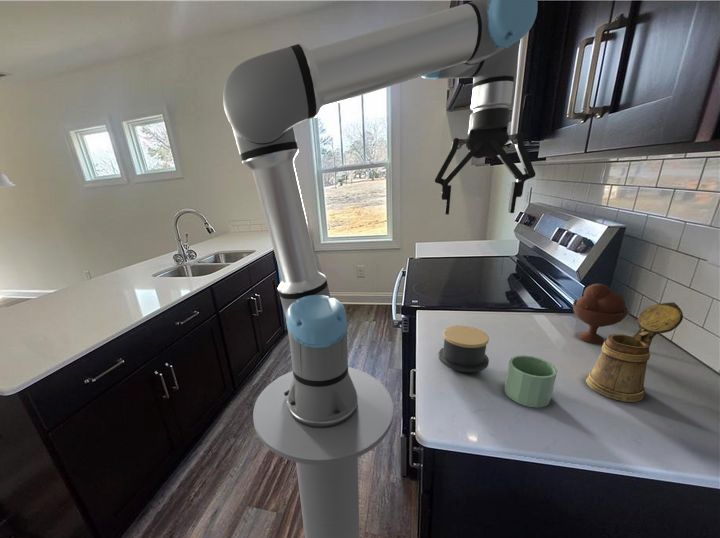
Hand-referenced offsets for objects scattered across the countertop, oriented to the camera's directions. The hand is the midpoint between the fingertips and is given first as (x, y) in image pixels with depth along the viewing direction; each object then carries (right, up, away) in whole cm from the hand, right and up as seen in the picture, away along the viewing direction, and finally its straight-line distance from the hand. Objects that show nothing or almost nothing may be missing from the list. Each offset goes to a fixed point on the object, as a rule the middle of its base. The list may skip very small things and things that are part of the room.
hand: (478, 213), depth 74 cm
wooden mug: (+26, -39, -8) cm, 48 cm away
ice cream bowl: (+36, -31, +11) cm, 48 cm away
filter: (-3, -37, +2) cm, 37 cm away
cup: (+6, -40, -9) cm, 42 cm away
